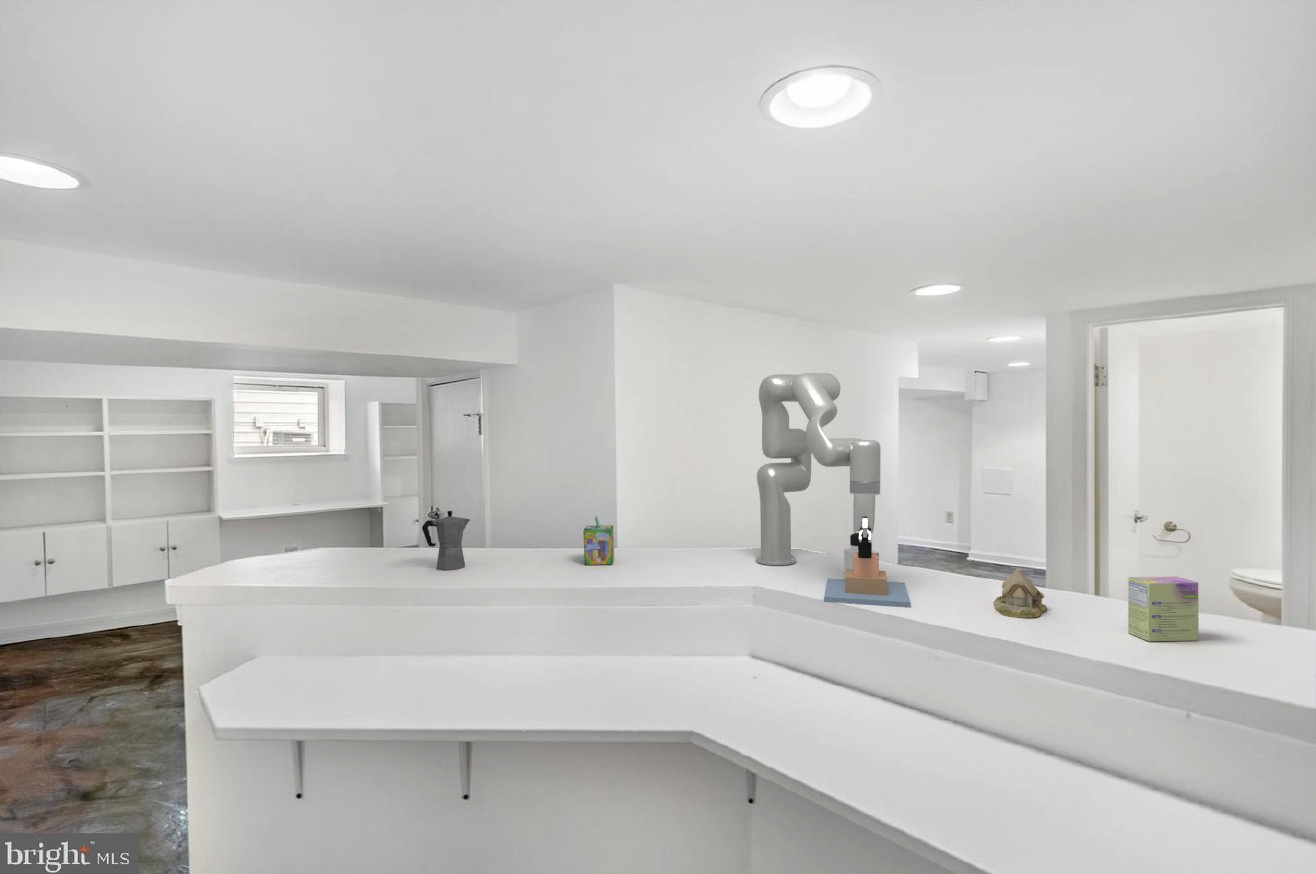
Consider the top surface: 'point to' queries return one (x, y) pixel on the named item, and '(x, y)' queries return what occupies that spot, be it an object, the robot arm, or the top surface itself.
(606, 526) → the chalk box
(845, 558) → the medicine bottle
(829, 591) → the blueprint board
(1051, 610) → the top surface
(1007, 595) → the ceramic model
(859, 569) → the terracotta block
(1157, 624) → the box
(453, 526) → the coffeepot
